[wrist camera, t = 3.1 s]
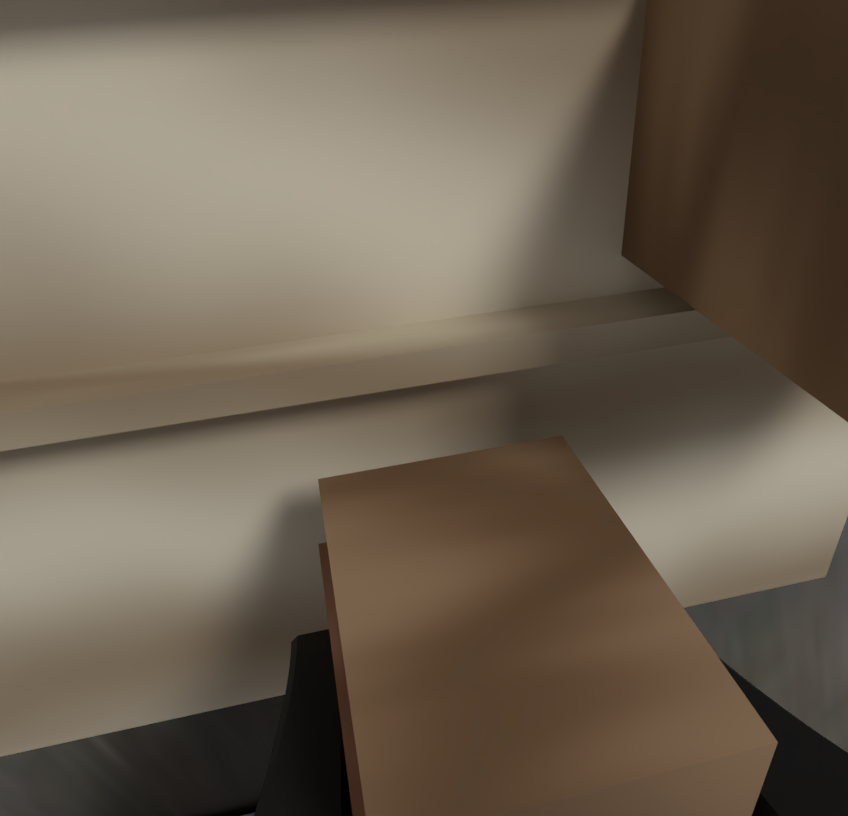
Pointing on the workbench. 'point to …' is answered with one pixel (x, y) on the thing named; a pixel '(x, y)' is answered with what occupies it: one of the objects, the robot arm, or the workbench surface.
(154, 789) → the workbench surface
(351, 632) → the turned block
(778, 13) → the faced block
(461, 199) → the long shallow wooden tray
